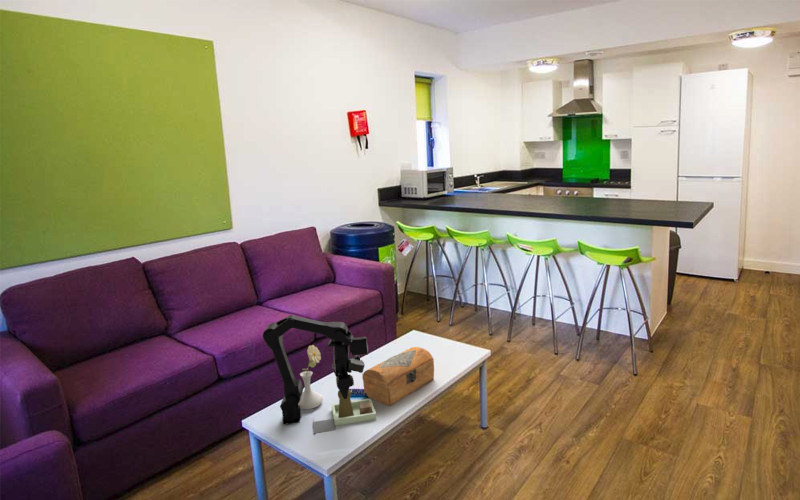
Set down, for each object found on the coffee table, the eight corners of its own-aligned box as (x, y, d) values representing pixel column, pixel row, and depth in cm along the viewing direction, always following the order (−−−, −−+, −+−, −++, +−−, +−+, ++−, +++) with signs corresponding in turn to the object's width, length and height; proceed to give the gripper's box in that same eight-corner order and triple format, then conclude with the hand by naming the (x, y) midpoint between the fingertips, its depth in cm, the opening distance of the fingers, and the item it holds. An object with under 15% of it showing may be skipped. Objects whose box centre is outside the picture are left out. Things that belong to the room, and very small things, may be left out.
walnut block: (361, 417, 195) (360, 408, 195) (359, 412, 199) (359, 403, 198) (371, 416, 196) (370, 406, 195) (369, 410, 200) (369, 401, 199)
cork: (336, 413, 199) (334, 387, 197) (351, 410, 201) (349, 384, 199) (340, 421, 194) (338, 394, 191) (355, 417, 196) (353, 391, 193)
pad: (314, 434, 186) (314, 433, 186) (312, 422, 194) (312, 421, 194) (335, 430, 188) (335, 429, 188) (333, 419, 196) (333, 418, 196)
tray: (334, 426, 191) (334, 420, 190) (331, 410, 202) (331, 404, 202) (376, 419, 194) (376, 413, 194) (371, 404, 206) (370, 398, 205)
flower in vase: (307, 415, 200) (301, 356, 194) (289, 406, 207) (283, 349, 202) (331, 401, 209) (327, 345, 204) (314, 393, 217) (309, 339, 211)
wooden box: (391, 408, 202) (389, 376, 199) (362, 396, 213) (360, 365, 210) (437, 380, 224) (436, 351, 221) (409, 370, 235) (408, 342, 232)
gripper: (366, 362, 185) (368, 401, 188) (358, 343, 203) (361, 379, 206) (335, 366, 183) (338, 406, 186) (331, 347, 200) (333, 383, 204)
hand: (344, 393), depth 196 cm, fingers open, 9 cm apart
